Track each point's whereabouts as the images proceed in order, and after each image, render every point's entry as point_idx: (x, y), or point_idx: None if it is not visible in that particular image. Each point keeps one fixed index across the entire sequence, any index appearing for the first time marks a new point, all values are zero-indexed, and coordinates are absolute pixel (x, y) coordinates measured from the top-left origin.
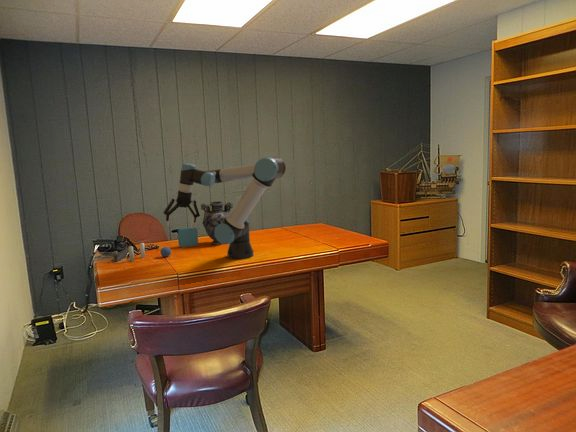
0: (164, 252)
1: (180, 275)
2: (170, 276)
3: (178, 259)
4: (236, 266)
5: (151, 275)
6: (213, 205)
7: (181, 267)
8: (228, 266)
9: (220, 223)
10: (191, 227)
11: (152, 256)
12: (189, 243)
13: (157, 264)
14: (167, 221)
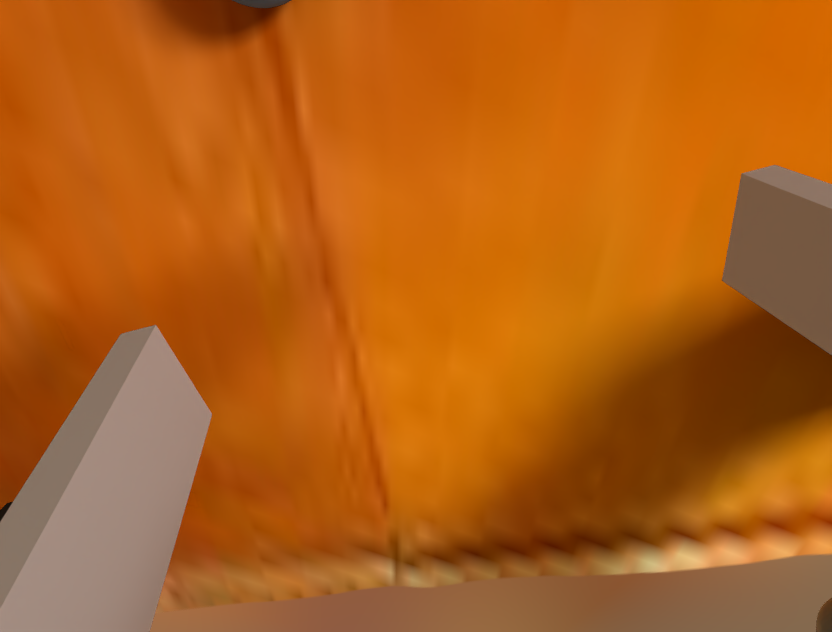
0: (242, 3)
1: (411, 581)
2: (358, 578)
3: (410, 165)
4: (762, 546)
5: (248, 527)
6: None
7: (424, 437)
8: (718, 528)
9: None
10: (738, 261)
11: None
12: None
13: (235, 279)
14: (67, 429)
